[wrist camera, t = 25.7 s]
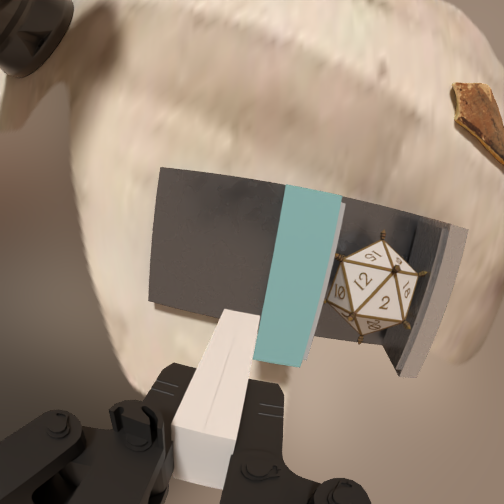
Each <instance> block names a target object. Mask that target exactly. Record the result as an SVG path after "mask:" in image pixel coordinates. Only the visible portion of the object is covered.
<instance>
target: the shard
mask: <svg viewBox="0 0 504 504" xmlns="http://www.w3.org/2000/svg"><path fill="white" fill-rule="evenodd" d="M452 86H453V88H454V91H455V94H456V112H455V118H454V120H455V121H456V122H457V123H458V124H460V125H461V126H463V127H464V128H466V129H467V130H468V131H470V133H471V134H472V135H474V136H475V137H476V138H477V139H478V140H479V141H480V142H481V143H482V144H483V145H484V146H485V147H486V149H488V150H489V152H490V153H491V154H492V155H493V156H494V157H495V158H496V159H497V160H498V161H499V162H501V163H502V164H503V165H504V126H503V122H502V118H501V115H500V112H499V108H498V106H497V103H496V100H495V99H494V96H493V93H492V90H491V88H490V87H489V86H488V85H487V84H482V83H458V82H455V83H453V84H452Z"/></svg>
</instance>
